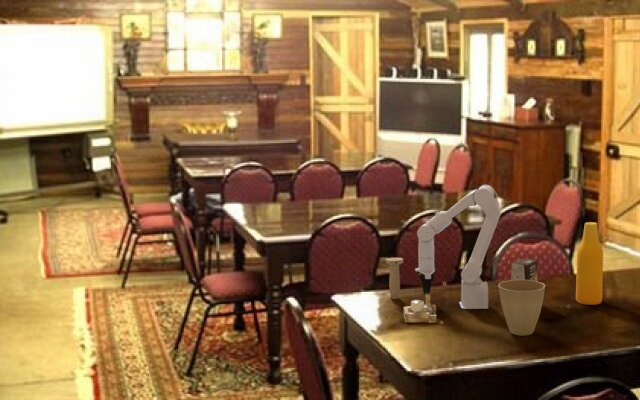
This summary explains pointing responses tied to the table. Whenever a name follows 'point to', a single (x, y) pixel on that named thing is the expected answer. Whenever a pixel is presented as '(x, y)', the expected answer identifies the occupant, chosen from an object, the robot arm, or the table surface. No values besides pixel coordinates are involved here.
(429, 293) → the pin
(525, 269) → the coffee box
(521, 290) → the plant pot
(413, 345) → the table surface
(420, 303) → the silver metal cylinder
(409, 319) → the dock
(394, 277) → the handle
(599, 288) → the beer bottle
